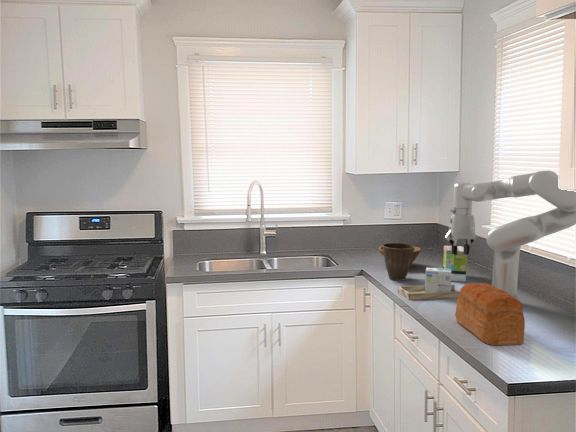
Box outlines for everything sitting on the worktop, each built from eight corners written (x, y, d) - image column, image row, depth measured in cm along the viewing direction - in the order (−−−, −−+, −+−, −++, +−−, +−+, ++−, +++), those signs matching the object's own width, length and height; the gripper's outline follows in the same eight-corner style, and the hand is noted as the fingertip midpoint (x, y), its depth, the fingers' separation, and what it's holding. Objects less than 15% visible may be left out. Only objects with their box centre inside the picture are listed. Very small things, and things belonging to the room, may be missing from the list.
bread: (486, 346, 170) (489, 299, 168) (452, 320, 196) (453, 279, 194) (528, 345, 171) (531, 299, 169) (488, 319, 197) (491, 278, 196)
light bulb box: (450, 293, 232) (451, 268, 231) (450, 297, 226) (452, 271, 225) (425, 291, 235) (426, 266, 234) (424, 295, 229) (425, 270, 227)
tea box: (466, 282, 253) (468, 251, 251) (444, 280, 255) (445, 250, 253) (462, 275, 268) (464, 245, 266) (441, 273, 270) (443, 244, 268)
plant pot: (418, 281, 253) (419, 248, 251) (388, 282, 250) (389, 248, 248) (405, 274, 267) (406, 242, 266) (377, 275, 264) (377, 243, 263)
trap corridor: (467, 297, 226) (467, 291, 226) (408, 299, 222) (409, 293, 222) (453, 289, 238) (454, 284, 238) (397, 292, 234) (398, 286, 234)
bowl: (368, 265, 288) (369, 247, 287) (397, 260, 302) (398, 243, 300) (400, 273, 271) (400, 253, 269) (429, 267, 284) (430, 248, 283)
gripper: (447, 213, 223) (445, 256, 225) (485, 212, 226) (483, 255, 228) (439, 211, 230) (437, 253, 232) (476, 210, 233) (474, 252, 235)
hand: (460, 253), depth 230 cm, fingers open, 4 cm apart
